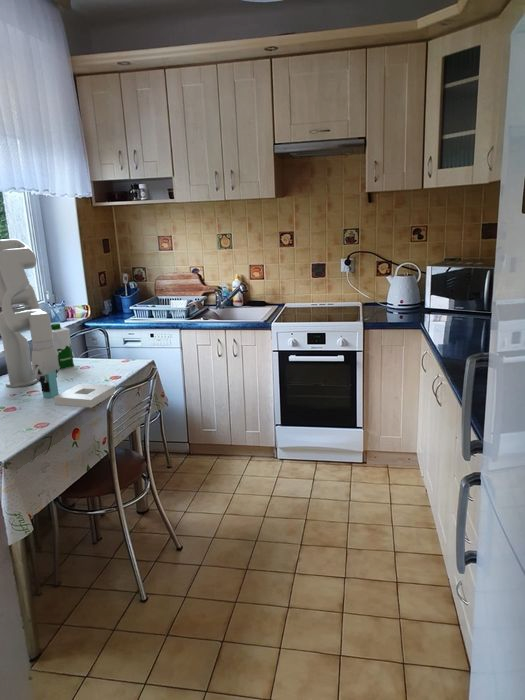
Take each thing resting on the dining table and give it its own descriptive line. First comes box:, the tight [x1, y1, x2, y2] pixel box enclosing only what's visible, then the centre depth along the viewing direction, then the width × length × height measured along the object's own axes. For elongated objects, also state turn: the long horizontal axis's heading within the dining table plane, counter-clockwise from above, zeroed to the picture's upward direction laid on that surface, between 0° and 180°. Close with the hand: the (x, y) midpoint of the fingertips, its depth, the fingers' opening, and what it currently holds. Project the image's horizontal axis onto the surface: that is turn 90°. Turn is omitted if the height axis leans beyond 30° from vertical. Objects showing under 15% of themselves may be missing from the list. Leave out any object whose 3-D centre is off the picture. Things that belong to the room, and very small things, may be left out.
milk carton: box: [51, 322, 75, 370], centre depth 245 cm, size 9×9×20 cm
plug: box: [42, 371, 60, 399], centre depth 206 cm, size 4×4×10 cm
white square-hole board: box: [53, 383, 116, 408], centre depth 205 cm, size 22×16×3 cm
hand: (49, 389), depth 207 cm, fingers closed on plug, 4 cm apart
